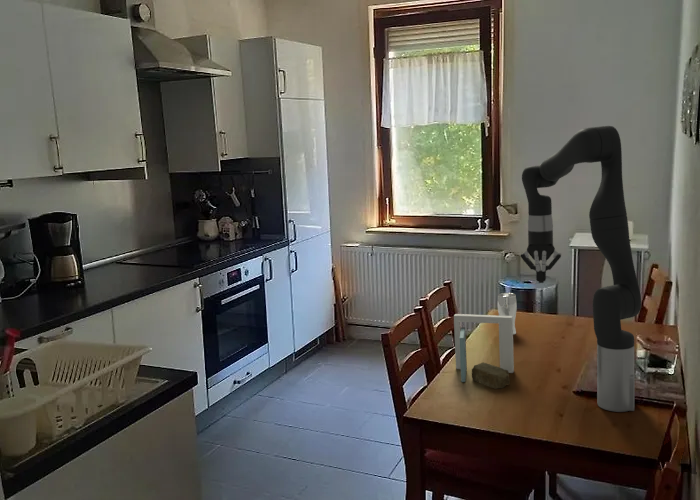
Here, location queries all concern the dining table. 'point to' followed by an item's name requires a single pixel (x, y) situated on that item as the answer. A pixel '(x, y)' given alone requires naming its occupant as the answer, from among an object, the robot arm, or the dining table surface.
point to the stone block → (490, 375)
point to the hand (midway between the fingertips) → (541, 282)
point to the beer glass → (507, 306)
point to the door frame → (504, 337)
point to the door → (463, 354)
